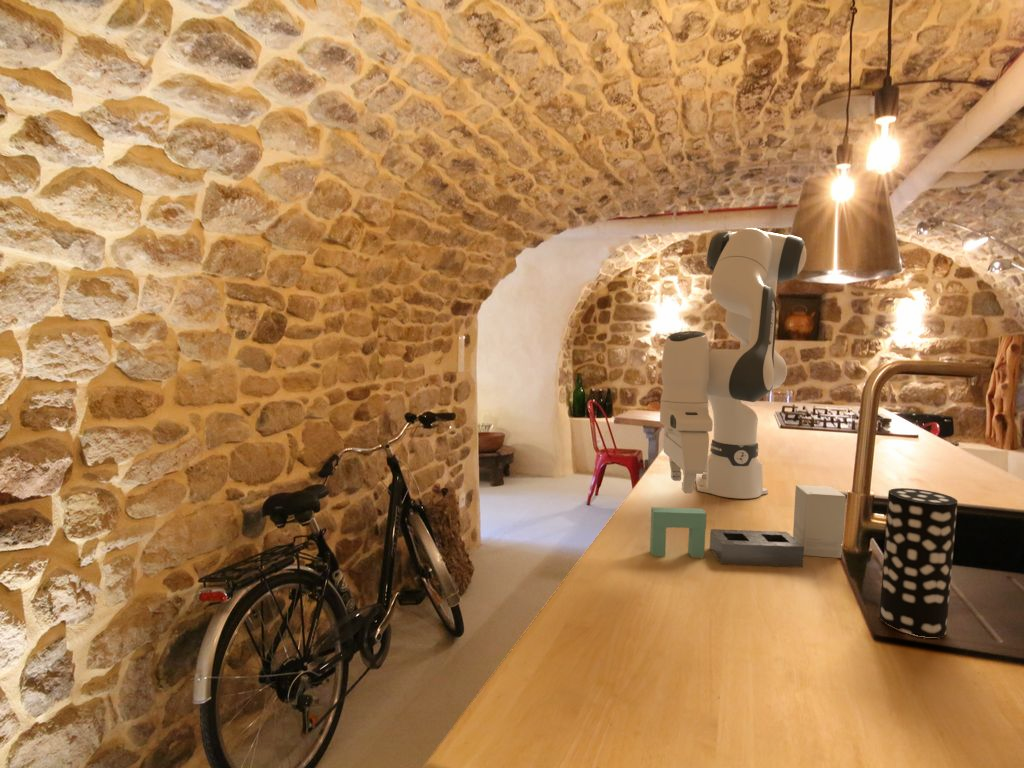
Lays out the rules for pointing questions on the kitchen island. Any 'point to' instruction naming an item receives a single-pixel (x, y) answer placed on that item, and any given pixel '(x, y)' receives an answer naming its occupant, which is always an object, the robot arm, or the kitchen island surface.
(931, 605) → the white-spotted black cylinder
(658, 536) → the green u-shaped block
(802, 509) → the supplement box
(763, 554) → the gray socket base
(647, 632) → the kitchen island surface
